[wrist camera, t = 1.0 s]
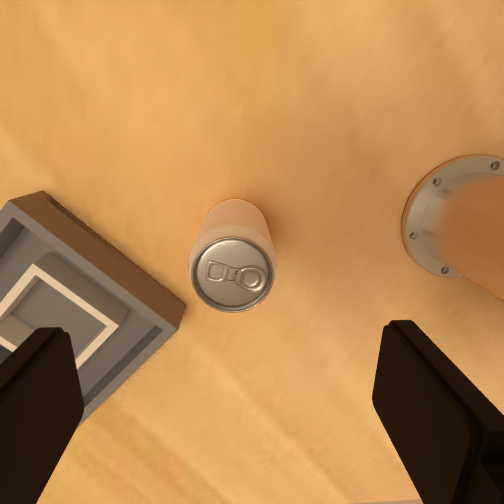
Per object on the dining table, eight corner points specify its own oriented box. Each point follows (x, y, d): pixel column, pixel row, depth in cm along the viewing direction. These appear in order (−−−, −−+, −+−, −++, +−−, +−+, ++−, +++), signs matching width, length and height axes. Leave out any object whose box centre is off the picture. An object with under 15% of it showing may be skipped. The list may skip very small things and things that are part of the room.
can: (259, 264, 35) (268, 325, 24) (198, 252, 34) (178, 309, 23) (273, 204, 33) (290, 241, 22) (209, 191, 32) (192, 221, 21)
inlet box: (186, 304, 36) (177, 329, 32) (89, 400, 40) (69, 435, 35) (42, 190, 32) (8, 200, 27) (-51, 311, 36) (-95, 337, 31)
